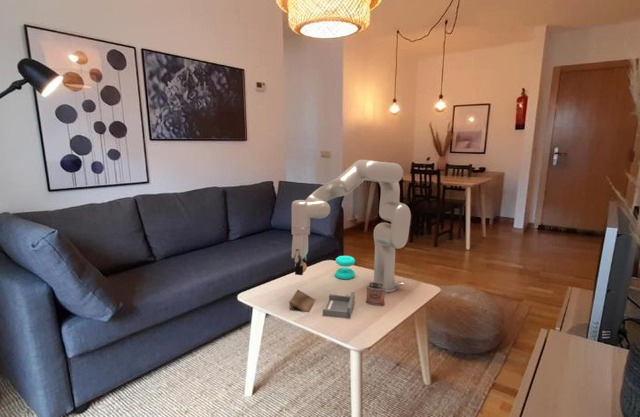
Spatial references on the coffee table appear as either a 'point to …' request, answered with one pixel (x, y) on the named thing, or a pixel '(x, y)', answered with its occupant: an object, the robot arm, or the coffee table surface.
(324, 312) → the box
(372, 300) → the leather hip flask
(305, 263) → the ball
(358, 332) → the coffee table surface
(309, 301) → the ramp
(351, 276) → the donuts
